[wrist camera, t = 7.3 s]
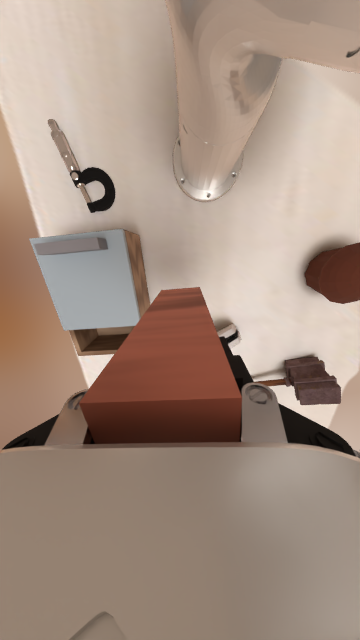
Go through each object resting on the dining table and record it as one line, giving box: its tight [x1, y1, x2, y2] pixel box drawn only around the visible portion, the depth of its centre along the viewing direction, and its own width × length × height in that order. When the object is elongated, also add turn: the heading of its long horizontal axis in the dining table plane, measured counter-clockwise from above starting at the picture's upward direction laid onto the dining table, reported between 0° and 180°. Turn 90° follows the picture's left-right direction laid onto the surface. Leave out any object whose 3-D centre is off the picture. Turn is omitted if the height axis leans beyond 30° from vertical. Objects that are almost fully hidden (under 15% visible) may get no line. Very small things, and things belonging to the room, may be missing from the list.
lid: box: [30, 229, 141, 330], centre depth 30 cm, size 17×16×4 cm
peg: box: [79, 287, 242, 444], centre depth 14 cm, size 5×5×18 cm
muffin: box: [305, 243, 360, 304], centre depth 33 cm, size 12×11×10 cm
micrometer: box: [48, 119, 115, 213], centre depth 32 cm, size 15×7×2 cm, turn 20°
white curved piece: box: [217, 324, 241, 348], centre depth 42 cm, size 17×5×10 cm, turn 123°
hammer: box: [254, 357, 341, 405], centre depth 46 cm, size 7×33×10 cm, turn 110°
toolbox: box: [69, 230, 150, 356], centre depth 37 cm, size 24×16×9 cm, turn 5°
